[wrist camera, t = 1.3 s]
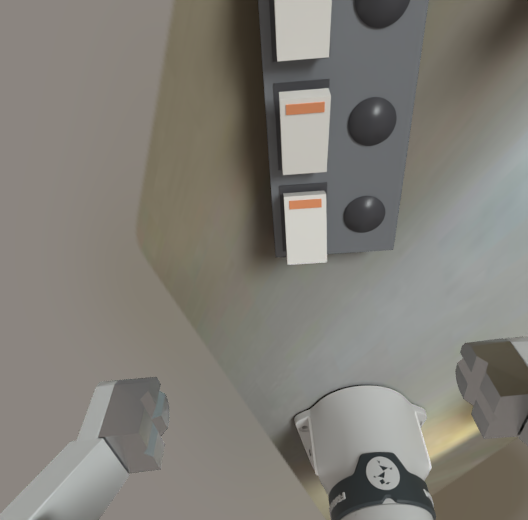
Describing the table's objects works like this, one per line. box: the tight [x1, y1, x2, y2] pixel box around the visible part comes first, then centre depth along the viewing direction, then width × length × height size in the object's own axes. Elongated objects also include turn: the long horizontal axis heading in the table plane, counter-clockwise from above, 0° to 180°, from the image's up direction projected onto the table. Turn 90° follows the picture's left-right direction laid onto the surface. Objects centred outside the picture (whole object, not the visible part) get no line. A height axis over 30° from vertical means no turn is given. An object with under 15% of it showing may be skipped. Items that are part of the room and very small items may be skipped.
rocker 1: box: [274, 0, 332, 62], centre depth 24 cm, size 6×3×1 cm, turn 4°
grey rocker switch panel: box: [258, 0, 429, 257], centre depth 31 cm, size 24×11×4 cm, turn 4°
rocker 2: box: [283, 191, 327, 265], centre depth 33 cm, size 6×3×1 cm, turn 4°
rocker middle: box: [279, 88, 331, 175], centre depth 29 cm, size 6×3×1 cm, turn 4°
